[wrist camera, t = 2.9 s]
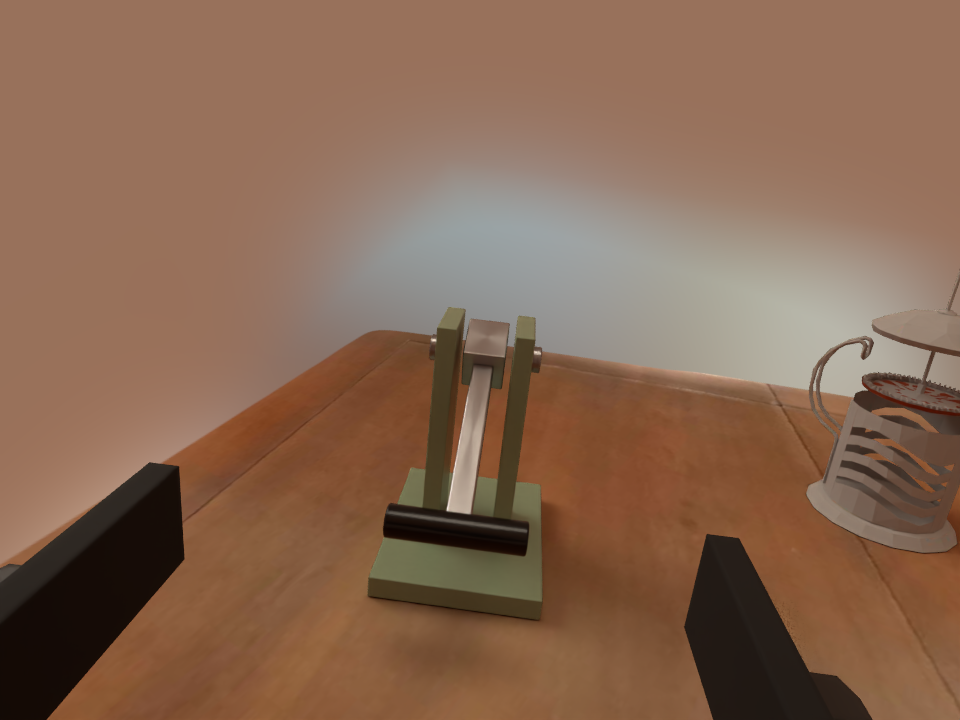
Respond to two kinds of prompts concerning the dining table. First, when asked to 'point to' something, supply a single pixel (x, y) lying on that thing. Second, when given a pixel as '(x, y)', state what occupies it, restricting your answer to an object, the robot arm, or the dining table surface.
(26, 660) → the robot arm
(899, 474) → the french press
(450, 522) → the lever
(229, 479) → the dining table surface
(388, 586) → the bracket
